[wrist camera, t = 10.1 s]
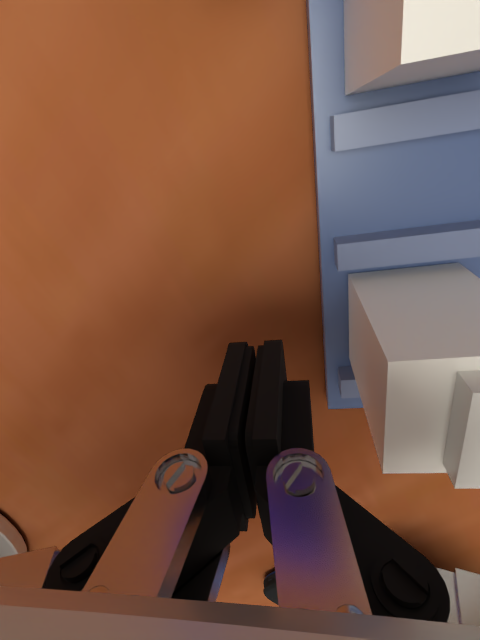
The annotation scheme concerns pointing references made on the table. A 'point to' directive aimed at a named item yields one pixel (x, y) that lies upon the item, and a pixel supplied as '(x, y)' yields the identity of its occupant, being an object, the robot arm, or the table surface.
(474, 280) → the white rectangular block
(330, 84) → the switch board
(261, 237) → the table surface
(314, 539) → the robot arm
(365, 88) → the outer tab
